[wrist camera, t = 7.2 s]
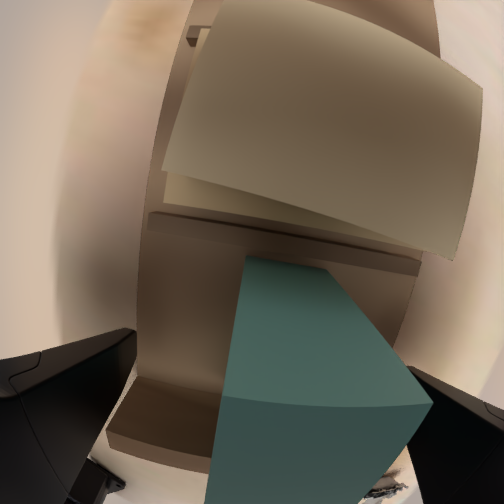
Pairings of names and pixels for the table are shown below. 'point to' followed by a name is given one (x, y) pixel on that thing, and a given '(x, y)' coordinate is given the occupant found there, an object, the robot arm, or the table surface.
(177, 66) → the rack
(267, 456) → the teal rectangular block
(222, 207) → the offcut low
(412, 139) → the offcut top
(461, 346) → the table surface
